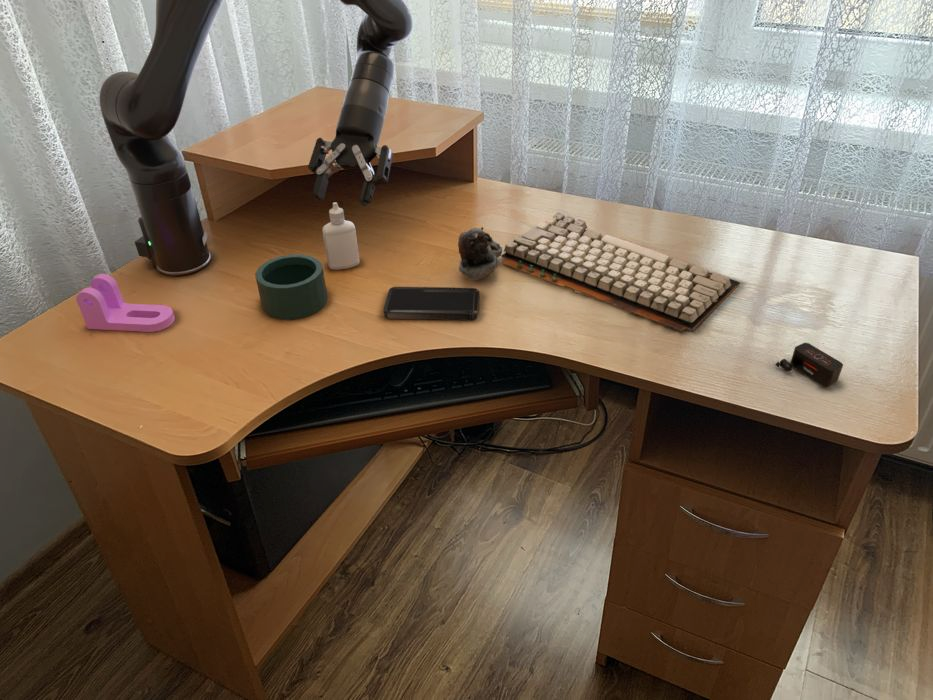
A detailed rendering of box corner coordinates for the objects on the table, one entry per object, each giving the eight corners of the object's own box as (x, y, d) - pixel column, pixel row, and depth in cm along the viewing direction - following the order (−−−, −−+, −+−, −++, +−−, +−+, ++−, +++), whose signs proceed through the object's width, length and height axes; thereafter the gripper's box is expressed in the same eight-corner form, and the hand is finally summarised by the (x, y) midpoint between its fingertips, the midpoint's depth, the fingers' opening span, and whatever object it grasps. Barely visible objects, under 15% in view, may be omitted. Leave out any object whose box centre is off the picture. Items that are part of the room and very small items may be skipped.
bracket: (88, 328, 117) (72, 291, 113) (105, 309, 121) (91, 273, 117) (165, 332, 116) (152, 295, 111) (180, 312, 120) (169, 276, 116)
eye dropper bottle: (355, 272, 129) (346, 209, 122) (324, 269, 130) (314, 207, 123) (362, 259, 132) (354, 198, 125) (333, 257, 133) (323, 196, 126)
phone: (476, 314, 115) (382, 312, 116) (476, 320, 116) (382, 318, 117) (479, 287, 121) (390, 285, 123) (479, 293, 122) (390, 291, 123)
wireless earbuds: (796, 357, 106) (801, 338, 104) (838, 383, 101) (845, 364, 99) (773, 367, 105) (779, 349, 103) (816, 395, 100) (822, 376, 98)
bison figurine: (465, 252, 134) (463, 201, 128) (503, 253, 133) (504, 202, 127) (456, 287, 124) (453, 234, 118) (497, 289, 123) (497, 235, 117)
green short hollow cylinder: (249, 313, 119) (242, 281, 116) (284, 280, 127) (278, 250, 124) (306, 324, 116) (300, 292, 113) (338, 290, 124) (333, 259, 121)
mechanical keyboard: (740, 283, 123) (744, 266, 121) (689, 337, 111) (693, 319, 109) (551, 223, 142) (552, 207, 140) (491, 263, 131) (491, 247, 129)
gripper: (408, 126, 129) (386, 214, 127) (336, 119, 133) (314, 203, 131) (392, 106, 122) (369, 198, 120) (317, 98, 126) (293, 188, 124)
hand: (340, 201), depth 126 cm, fingers open, 8 cm apart
